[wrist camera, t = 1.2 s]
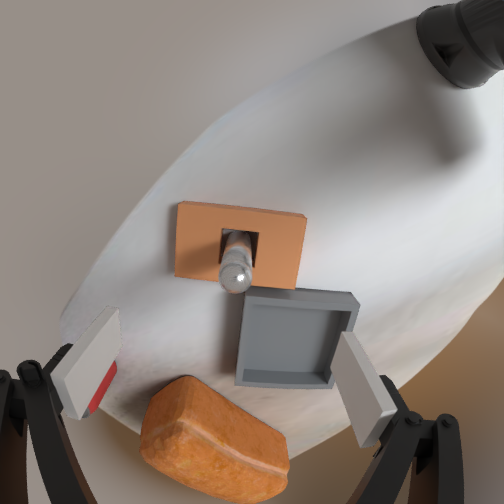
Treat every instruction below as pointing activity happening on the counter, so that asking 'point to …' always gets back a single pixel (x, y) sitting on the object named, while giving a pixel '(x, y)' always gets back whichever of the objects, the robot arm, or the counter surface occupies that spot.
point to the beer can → (101, 391)
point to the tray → (291, 336)
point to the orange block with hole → (239, 218)
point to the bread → (213, 444)
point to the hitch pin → (236, 263)
